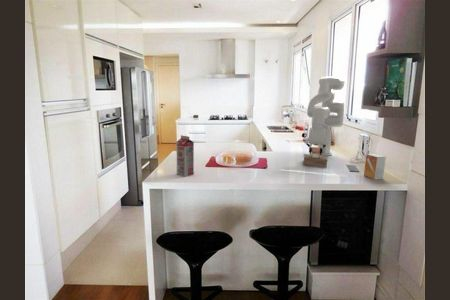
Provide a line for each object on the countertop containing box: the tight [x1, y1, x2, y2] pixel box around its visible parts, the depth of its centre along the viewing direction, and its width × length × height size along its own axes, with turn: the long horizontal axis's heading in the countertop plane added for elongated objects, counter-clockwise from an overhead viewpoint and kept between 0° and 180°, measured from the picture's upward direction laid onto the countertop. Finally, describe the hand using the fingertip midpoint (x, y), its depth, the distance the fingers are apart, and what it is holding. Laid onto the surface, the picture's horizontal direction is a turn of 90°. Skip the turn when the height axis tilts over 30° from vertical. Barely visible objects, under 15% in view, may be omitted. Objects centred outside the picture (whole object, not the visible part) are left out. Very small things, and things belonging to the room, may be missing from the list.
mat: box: [346, 164, 360, 173], centre depth 184 cm, size 16×12×1 cm
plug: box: [311, 146, 320, 158], centre depth 188 cm, size 6×6×11 cm
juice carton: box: [176, 135, 195, 178], centre depth 159 cm, size 7×7×22 cm
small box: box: [363, 153, 387, 180], centre depth 163 cm, size 8×6×13 cm
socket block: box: [303, 153, 328, 169], centre depth 188 cm, size 14×14×6 cm
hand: (315, 153), depth 187 cm, fingers closed on plug, 5 cm apart
